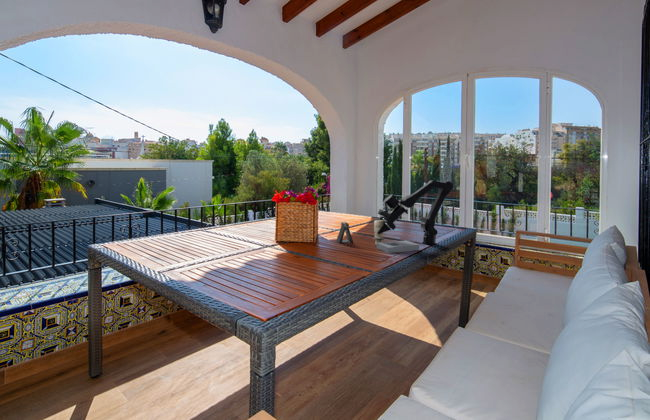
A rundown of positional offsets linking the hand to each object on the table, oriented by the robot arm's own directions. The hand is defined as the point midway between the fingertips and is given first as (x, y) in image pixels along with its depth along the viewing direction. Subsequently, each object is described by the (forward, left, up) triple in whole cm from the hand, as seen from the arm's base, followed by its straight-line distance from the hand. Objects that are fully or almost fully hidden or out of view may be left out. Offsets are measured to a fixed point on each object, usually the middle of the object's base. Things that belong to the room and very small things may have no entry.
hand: (376, 232), depth 207 cm
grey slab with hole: (-5, +14, -7) cm, 17 cm away
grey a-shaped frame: (+15, -13, -7) cm, 21 cm away
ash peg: (-1, 0, -7) cm, 7 cm away
